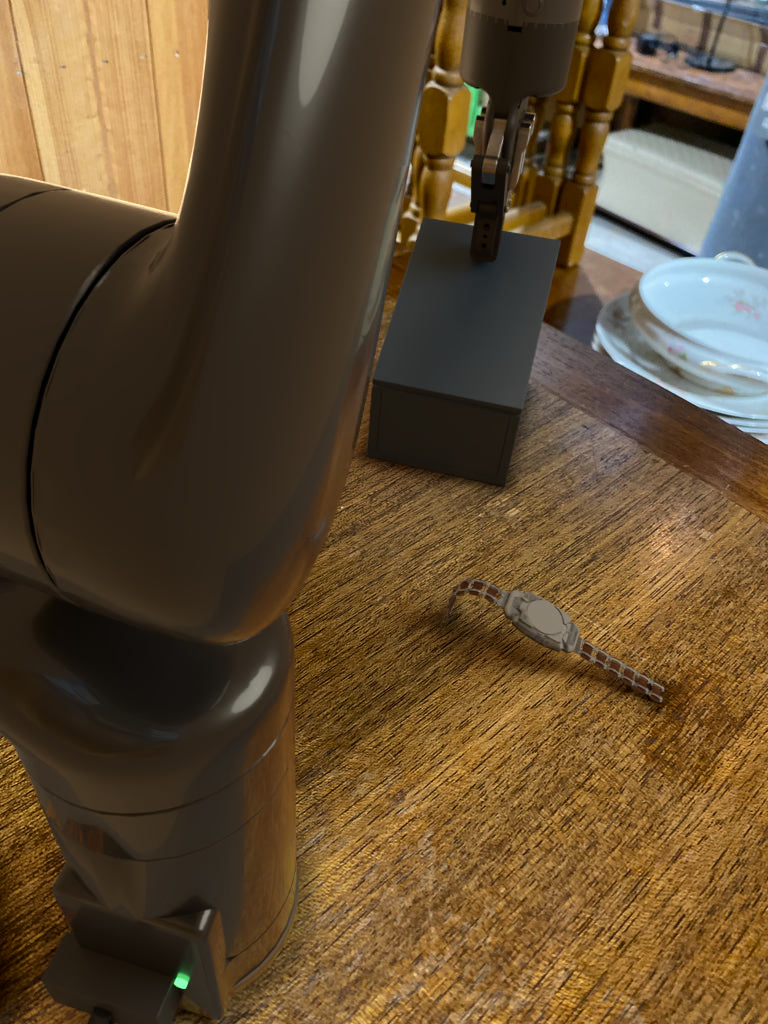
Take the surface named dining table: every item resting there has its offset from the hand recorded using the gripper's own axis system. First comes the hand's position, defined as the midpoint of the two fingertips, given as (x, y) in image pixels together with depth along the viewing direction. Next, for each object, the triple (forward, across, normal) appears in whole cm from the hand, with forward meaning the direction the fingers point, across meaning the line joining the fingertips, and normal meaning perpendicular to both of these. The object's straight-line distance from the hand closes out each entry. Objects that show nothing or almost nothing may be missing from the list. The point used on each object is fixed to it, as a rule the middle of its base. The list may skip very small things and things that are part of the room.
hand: (483, 257), depth 63 cm
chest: (+14, +4, 0) cm, 14 cm away
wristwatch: (+14, +28, +11) cm, 33 cm away
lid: (+3, +4, 0) cm, 5 cm away
